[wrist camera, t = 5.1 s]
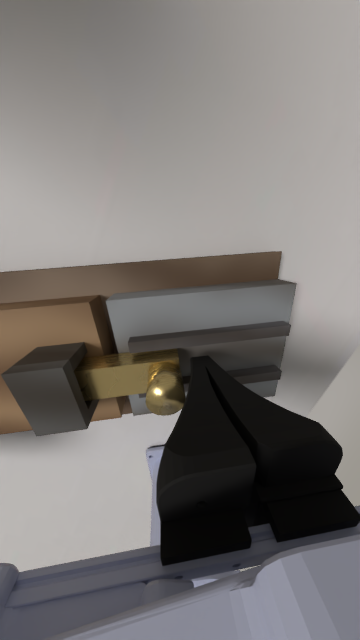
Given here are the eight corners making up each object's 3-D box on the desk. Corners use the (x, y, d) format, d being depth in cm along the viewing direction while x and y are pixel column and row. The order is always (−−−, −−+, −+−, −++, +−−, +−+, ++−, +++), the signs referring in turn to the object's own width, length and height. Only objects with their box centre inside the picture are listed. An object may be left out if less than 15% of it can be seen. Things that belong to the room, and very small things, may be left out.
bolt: (180, 373, 13) (186, 413, 10) (71, 387, 12) (39, 434, 9) (178, 346, 12) (184, 381, 9) (60, 360, 11) (20, 402, 8)
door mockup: (255, 388, 19) (292, 441, 13) (3, 422, 17) (-69, 500, 11) (273, 251, 13) (347, 250, 8) (-92, 279, 11) (-308, 301, 6)
